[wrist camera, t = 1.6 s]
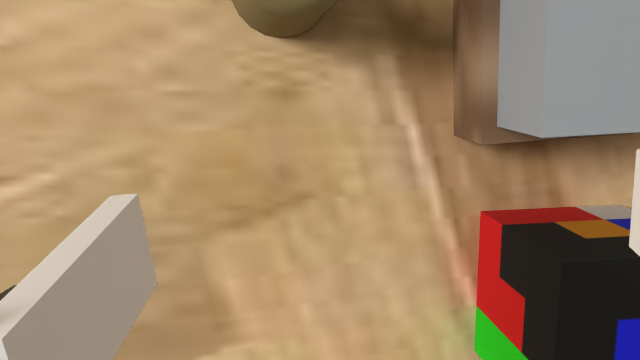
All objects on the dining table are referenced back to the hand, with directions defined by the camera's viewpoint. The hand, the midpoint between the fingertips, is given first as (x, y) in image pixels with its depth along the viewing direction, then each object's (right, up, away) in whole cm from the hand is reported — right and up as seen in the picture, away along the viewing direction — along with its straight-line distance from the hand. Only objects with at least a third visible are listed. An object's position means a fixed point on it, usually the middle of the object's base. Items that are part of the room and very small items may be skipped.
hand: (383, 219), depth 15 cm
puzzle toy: (+14, -6, +24) cm, 29 cm away
